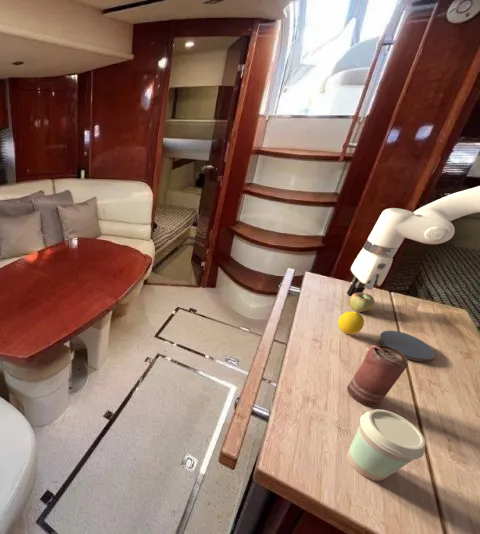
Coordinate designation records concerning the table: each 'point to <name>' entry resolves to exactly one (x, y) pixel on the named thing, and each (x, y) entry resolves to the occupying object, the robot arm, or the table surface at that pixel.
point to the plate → (407, 345)
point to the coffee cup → (384, 444)
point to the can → (377, 375)
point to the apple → (361, 302)
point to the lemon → (350, 322)
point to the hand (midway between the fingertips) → (352, 295)
